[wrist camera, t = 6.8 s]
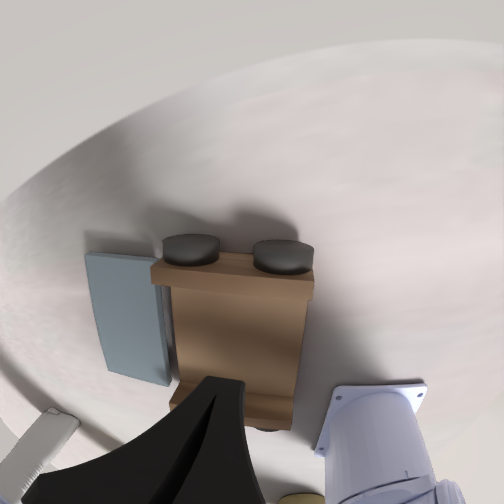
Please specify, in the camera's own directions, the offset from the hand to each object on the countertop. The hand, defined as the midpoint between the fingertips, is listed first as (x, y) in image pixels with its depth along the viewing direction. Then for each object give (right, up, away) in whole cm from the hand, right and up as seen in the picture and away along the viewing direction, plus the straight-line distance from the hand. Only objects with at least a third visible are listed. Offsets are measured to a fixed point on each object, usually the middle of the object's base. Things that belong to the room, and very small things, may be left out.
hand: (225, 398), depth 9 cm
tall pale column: (-25, -17, +19) cm, 36 cm away
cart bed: (0, 0, +10) cm, 10 cm away
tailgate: (-5, 0, +9) cm, 11 cm away
